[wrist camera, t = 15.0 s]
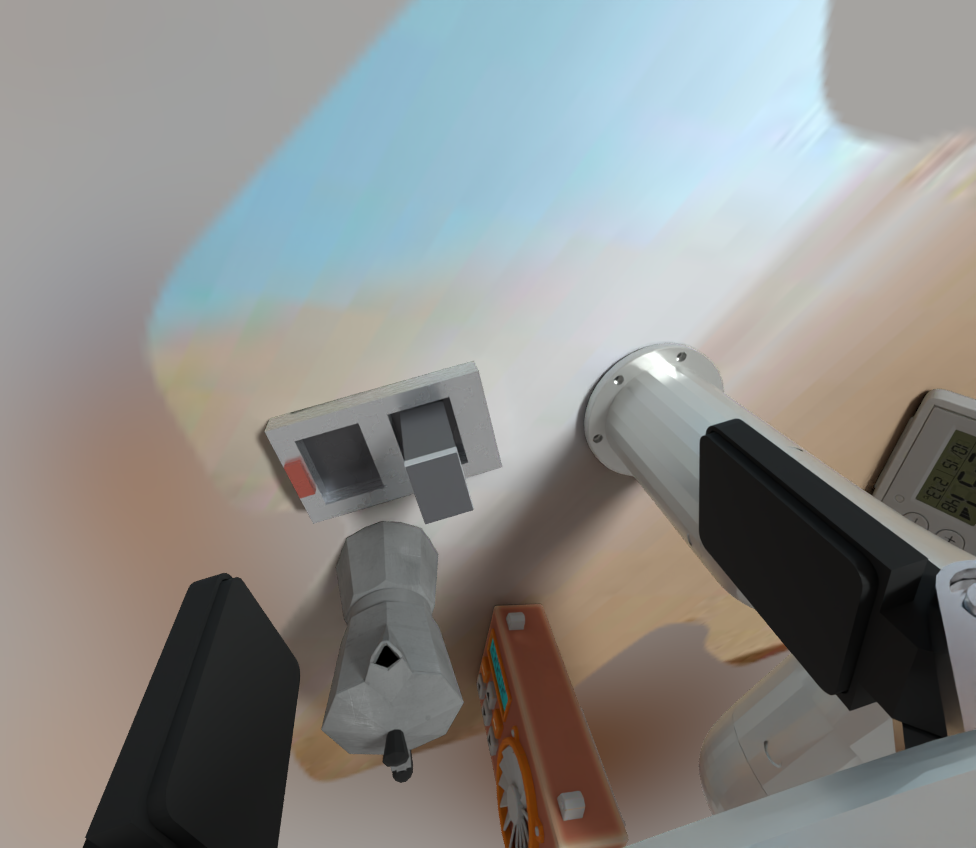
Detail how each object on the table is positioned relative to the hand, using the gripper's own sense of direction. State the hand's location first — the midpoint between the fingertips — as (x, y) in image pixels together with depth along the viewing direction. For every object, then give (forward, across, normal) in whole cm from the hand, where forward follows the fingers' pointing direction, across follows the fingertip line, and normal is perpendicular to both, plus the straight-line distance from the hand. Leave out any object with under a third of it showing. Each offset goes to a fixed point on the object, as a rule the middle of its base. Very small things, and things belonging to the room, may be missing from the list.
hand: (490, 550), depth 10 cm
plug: (+28, +2, +13) cm, 31 cm away
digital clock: (+29, -46, +32) cm, 63 cm away
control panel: (+28, +1, +42) cm, 51 cm away
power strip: (+28, +5, +13) cm, 31 cm away
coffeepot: (+28, +10, +26) cm, 40 cm away
